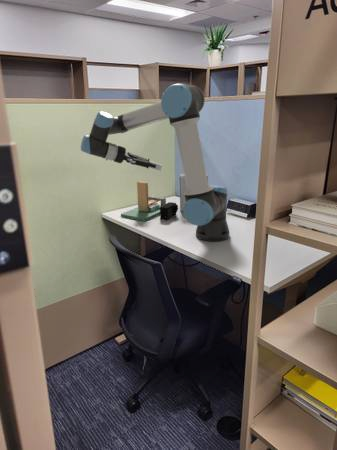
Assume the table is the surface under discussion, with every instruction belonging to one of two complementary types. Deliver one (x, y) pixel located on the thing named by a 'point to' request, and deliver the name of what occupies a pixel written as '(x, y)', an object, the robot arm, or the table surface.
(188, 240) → the table surface
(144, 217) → the circuit board
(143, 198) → the upright wooden plank
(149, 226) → the table surface
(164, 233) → the table surface
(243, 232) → the table surface
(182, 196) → the hard drive box
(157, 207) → the heat sink
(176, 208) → the digital camera
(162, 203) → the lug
